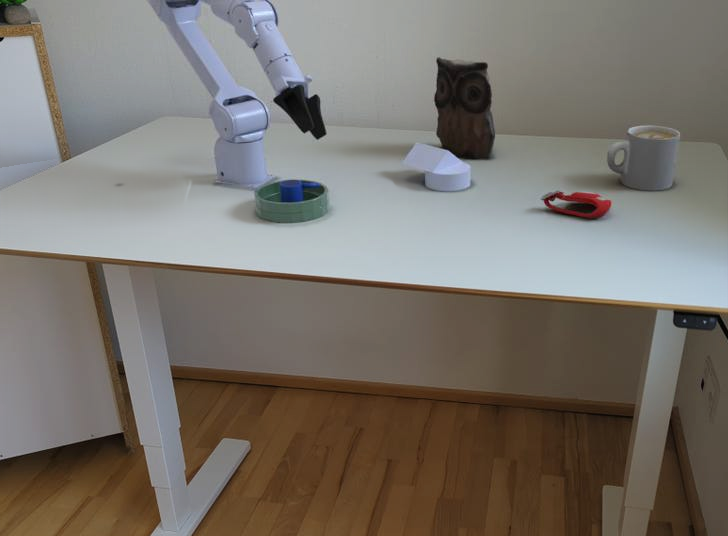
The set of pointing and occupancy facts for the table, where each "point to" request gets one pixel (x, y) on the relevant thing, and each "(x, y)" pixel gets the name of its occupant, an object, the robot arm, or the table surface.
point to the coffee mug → (647, 157)
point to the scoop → (294, 190)
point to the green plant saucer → (306, 210)
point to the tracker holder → (581, 198)
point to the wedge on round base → (439, 168)
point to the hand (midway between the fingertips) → (315, 133)
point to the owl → (464, 108)
